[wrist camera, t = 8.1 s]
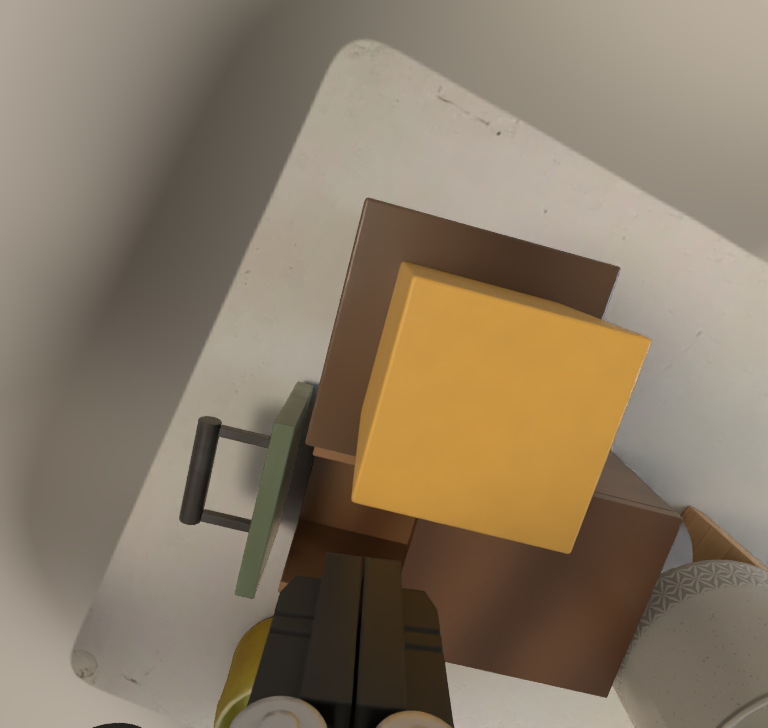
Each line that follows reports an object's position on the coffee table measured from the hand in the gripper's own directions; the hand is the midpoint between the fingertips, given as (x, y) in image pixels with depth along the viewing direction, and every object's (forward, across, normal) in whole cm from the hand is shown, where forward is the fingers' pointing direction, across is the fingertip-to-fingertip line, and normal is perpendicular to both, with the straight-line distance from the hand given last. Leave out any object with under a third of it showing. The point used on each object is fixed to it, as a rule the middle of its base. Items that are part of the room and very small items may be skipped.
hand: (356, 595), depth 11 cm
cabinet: (+29, -10, +12) cm, 33 cm away
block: (+7, -2, -4) cm, 8 cm away
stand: (+29, -2, -4) cm, 29 cm away
